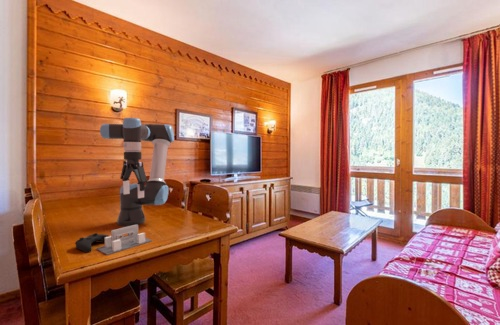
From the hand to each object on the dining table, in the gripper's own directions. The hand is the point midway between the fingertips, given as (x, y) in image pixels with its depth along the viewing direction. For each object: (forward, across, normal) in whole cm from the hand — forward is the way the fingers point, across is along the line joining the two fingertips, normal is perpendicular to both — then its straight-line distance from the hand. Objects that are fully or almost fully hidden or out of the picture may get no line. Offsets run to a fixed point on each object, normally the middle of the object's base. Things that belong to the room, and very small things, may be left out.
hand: (133, 195), depth 116 cm
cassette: (+21, +3, -6) cm, 22 cm away
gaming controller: (+22, -7, -15) cm, 28 cm away
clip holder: (+21, +3, -6) cm, 22 cm away
